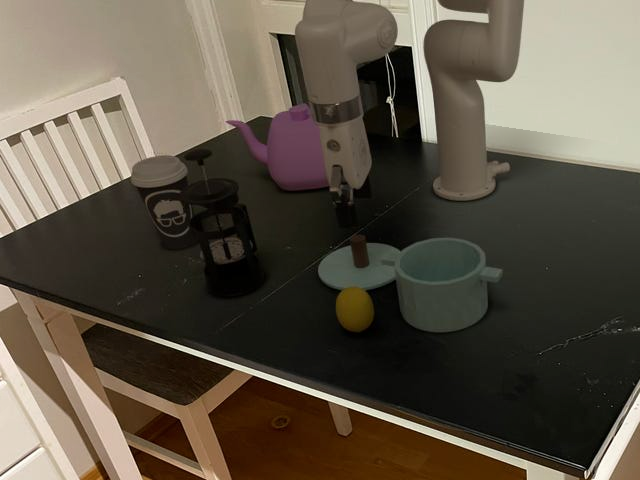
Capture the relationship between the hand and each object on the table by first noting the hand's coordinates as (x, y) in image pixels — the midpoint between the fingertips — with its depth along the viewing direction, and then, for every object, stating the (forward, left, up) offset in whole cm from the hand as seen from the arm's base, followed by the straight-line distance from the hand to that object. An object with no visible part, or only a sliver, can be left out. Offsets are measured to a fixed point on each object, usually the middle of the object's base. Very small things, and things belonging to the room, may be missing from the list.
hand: (356, 211), depth 119 cm
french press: (+21, -7, -11) cm, 24 cm away
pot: (-7, +17, -11) cm, 22 cm away
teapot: (0, -42, -11) cm, 43 cm away
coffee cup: (+28, -27, -11) cm, 40 cm away
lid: (+1, 0, -10) cm, 10 cm away
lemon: (+7, +17, -11) cm, 22 cm away
